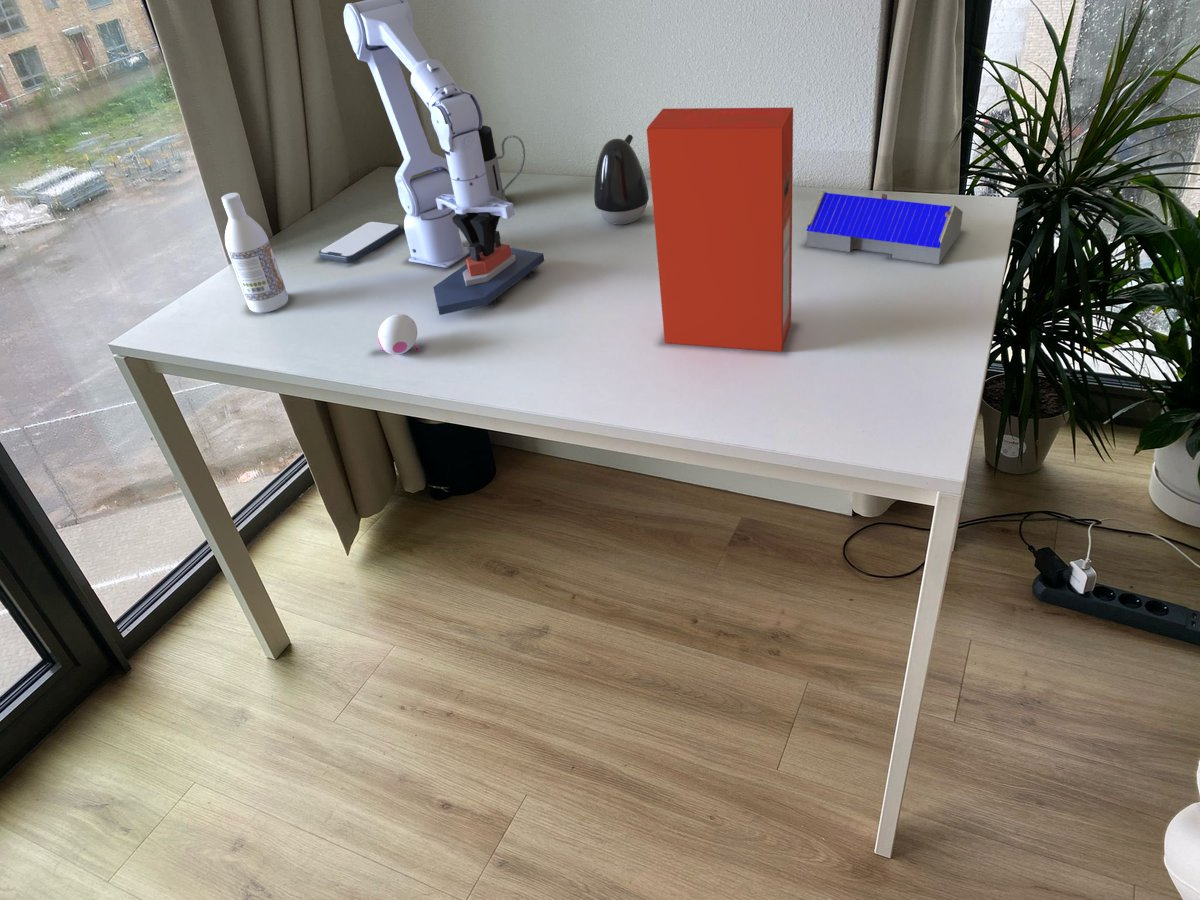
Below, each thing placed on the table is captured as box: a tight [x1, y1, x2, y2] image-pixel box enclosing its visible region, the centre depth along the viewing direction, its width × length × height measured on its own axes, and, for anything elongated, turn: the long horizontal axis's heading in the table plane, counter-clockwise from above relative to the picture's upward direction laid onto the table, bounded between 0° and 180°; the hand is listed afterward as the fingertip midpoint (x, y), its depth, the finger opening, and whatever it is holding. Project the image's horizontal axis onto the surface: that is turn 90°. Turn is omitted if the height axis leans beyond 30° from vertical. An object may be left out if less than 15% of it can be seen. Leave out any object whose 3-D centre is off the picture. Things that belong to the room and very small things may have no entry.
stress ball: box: [377, 313, 420, 356], centre depth 144 cm, size 8×8×7 cm
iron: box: [463, 230, 516, 286], centre depth 156 cm, size 11×5×6 cm, turn 148°
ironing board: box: [432, 247, 545, 316], centre depth 157 cm, size 11×22×3 cm, turn 149°
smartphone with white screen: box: [318, 220, 403, 264], centre depth 180 cm, size 9×2×16 cm
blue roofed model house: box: [805, 190, 964, 265], centre depth 155 cm, size 22×14×7 cm, turn 58°
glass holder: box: [477, 124, 526, 202], centre depth 185 cm, size 9×14×15 cm, turn 82°
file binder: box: [646, 106, 794, 353], centre depth 128 cm, size 8×17×32 cm, turn 71°
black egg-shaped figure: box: [593, 134, 650, 225], centre depth 172 cm, size 10×10×15 cm
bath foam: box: [221, 192, 289, 314], centre depth 158 cm, size 7×7×20 cm
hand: (484, 253), depth 156 cm, fingers closed on iron, 2 cm apart
